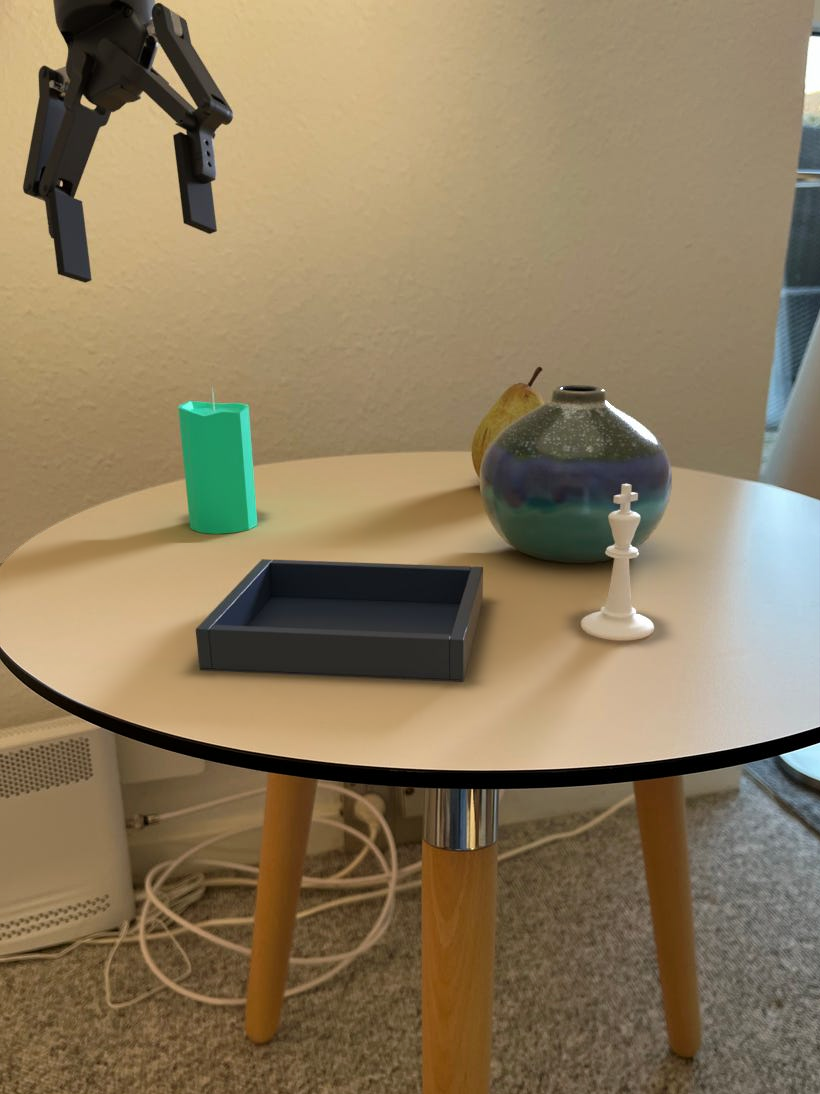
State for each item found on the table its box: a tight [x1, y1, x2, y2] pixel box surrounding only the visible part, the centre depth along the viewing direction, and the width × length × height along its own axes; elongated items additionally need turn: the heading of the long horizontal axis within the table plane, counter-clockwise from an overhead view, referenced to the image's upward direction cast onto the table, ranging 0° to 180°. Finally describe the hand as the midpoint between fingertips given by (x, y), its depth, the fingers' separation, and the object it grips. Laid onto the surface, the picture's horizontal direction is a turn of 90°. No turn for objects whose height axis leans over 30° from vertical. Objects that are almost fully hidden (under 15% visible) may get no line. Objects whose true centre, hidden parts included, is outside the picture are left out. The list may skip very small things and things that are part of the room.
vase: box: [478, 384, 673, 564], centre depth 81 cm, size 15×15×13 cm
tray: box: [195, 558, 484, 683], centre depth 65 cm, size 16×14×3 cm
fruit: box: [471, 366, 546, 480], centre depth 103 cm, size 9×9×12 cm
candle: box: [177, 387, 258, 535], centre depth 89 cm, size 6×6×12 cm
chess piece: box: [580, 484, 655, 642], centre depth 65 cm, size 5×5×10 cm
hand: (135, 254), depth 79 cm, fingers open, 13 cm apart
